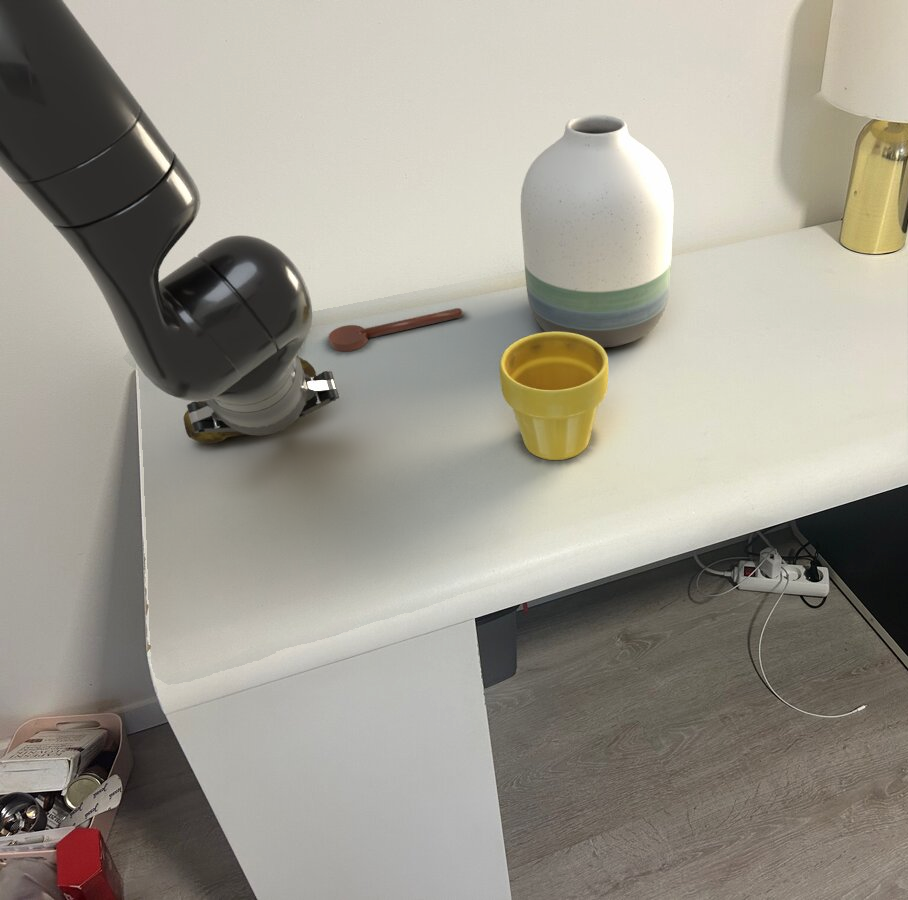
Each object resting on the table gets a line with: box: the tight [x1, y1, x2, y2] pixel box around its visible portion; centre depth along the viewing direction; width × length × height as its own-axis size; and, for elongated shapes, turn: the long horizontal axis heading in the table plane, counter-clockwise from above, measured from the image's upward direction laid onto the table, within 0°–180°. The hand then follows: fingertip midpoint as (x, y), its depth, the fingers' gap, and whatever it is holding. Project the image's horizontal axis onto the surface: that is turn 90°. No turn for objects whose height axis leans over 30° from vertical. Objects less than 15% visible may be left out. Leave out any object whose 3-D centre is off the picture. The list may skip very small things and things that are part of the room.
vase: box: [520, 114, 674, 349], centre depth 96 cm, size 17×17×24 cm
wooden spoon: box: [328, 307, 464, 352], centre depth 102 cm, size 16×4×1 cm, turn 114°
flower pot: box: [498, 331, 609, 461], centre depth 83 cm, size 10×10×10 cm
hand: (274, 419), depth 83 cm, fingers closed
